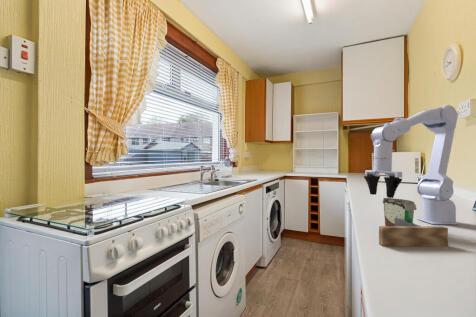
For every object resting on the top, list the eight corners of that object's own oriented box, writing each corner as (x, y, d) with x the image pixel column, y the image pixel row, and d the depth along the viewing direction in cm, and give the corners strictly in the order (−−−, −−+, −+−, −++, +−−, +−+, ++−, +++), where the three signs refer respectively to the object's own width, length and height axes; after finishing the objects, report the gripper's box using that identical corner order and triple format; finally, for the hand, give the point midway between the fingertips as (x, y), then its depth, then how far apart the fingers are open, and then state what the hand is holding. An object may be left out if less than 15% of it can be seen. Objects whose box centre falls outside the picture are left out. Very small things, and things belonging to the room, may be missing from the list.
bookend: (397, 233, 75) (397, 217, 75) (421, 244, 65) (421, 226, 65) (378, 232, 75) (378, 217, 75) (400, 244, 65) (400, 226, 65)
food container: (426, 236, 71) (426, 204, 72) (406, 236, 72) (406, 204, 72) (399, 225, 84) (399, 197, 84) (382, 225, 84) (382, 197, 84)
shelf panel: (443, 244, 65) (443, 226, 65) (448, 246, 63) (447, 228, 63) (378, 243, 65) (378, 226, 65) (382, 245, 63) (382, 227, 63)
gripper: (358, 158, 91) (357, 193, 91) (390, 158, 77) (389, 199, 77) (374, 159, 93) (372, 193, 92) (407, 159, 78) (406, 199, 78)
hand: (381, 196), depth 85 cm, fingers open, 7 cm apart
